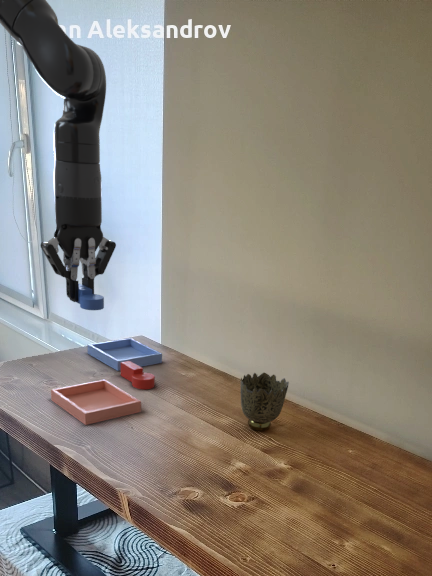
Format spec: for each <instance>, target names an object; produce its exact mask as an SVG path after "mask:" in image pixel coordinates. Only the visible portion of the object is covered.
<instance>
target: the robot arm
mask: <svg viewBox="0 0 432 576" xmlns="http://www.w3.org/2000/svg"><path fill="white" fill-rule="evenodd" d="M0 25H1V26H2V27H3V28H4V29H5V31H6V32H7V33H8V34H9V35H10V36H11V37H12V39H13V40H14V41H15V42H16V43H17V44H18V45H19V46H20V47H21V48H22V50H23V51H24V53H25V55H26V56H27V58H28V60H29V62H30V63H31V65H32V67H33V69H35V71H36V73H37V74H38V76H39V77H40V78H41V80H42V81H43V82H44V83H45V84H46V85H47V86H48V88H50V89H51V90H52V92H53V93H55V94H56V95H57V96H60V97H61V98H63V108H62V115H61V117H60V118H58V119H57V120H56V121H55V123H54V127H53V151H54V153H53V154H54V166H53V167H54V168H53V193H54V218H55V226H56V227H55V231H54V233H53V237H52V238H51V239H49V240H48V241H41V243H40V248H41V250H42V252H43V254H44V256H45V257H46V259H47V261H48V262H49V264H50V267H51V268H52V270H53V271H54V273H55V274H56V275H57V276H59V277H62V278H65V287H66V289H65V290H66V291H65V292H66V297H67V298H68V299H69V300H70V301H71V302H73V303H77V302H78V288H79V285H78V284H79V280H78V274H79V273H78V271H79V270H78V269H79V266H80V265H81V272H82V277H81V285H84V286H86V287H88V288H90V289H92V294H95V278H96V277H97V276H99V275H104V274H105V272H106V269H107V267H108V265H109V263H110V260H111V258H112V256H113V254H114V252H115V249H116V247H117V244H116V242H115V241H113V240H109V239H108V238H106V237H104V232H103V231H102V227H101V225H102V223H103V219H102V218H103V215H102V214H103V210H102V207H103V205H102V204H103V202H102V201H103V200H102V199H103V198H102V196H103V195H102V193H103V187H102V185H103V182H102V181H103V180H102V172H101V142H100V131H101V125H102V122H103V121H102V120H103V115H104V109H105V103H106V96H107V76H106V70H105V65H104V63H103V61H102V59H101V57H100V56H99V55H98V53H97V52H95V50H93V49H92V48H89V47H87V46H84V45H81V44H77V43H76V42H74V41H73V40H72V39H71V38H70V36H68V35H67V33H66V32H65V31H64V30H63V28H62V27H61V26H60V24H59V18H58V15H57V13H56V12H55V11H54V9H53V8H52V6H51V5H50V3H49V2H48V1H47V0H0ZM59 248H60V249H61V251H62V252H63V258H62V259H63V261H62V259H61V257H60V256H59V254H58V253H59V251H60V249H59ZM97 250H98V252H97ZM96 252H97V254H96Z"/></svg>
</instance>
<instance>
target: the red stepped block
mask: <svg viewBox="0 0 432 576" xmlns="http://www.w3.org/2000/svg"><path fill="white" fill-rule="evenodd" d="M120 377H121V378H123V379H125V380H127V381H129V382H130V383H131V386H132V387H133V388H135V389H138V390H151V389H153V388H155V382H156V381H155V380H156V379H155V378H156V376H155V374H153V373H151V372H145V371H144V367H143V366H142V367H140V366H138V365H136V364H135V363H133V362H131V361H126V362H121V370H120Z"/></svg>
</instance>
